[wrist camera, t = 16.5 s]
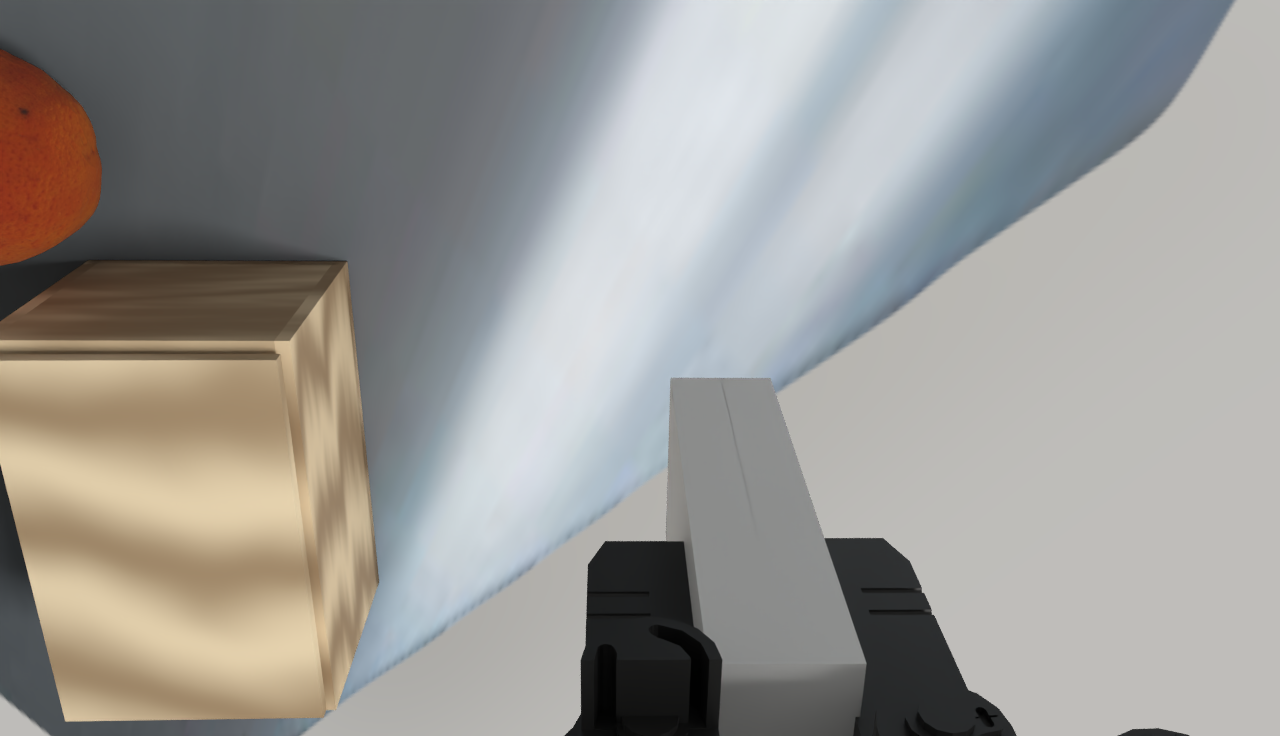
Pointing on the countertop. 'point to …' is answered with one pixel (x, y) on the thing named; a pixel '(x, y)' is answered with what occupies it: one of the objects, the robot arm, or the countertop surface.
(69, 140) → the fruit
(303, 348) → the wooden box
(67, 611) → the flap
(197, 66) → the countertop surface
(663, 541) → the robot arm
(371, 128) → the countertop surface
